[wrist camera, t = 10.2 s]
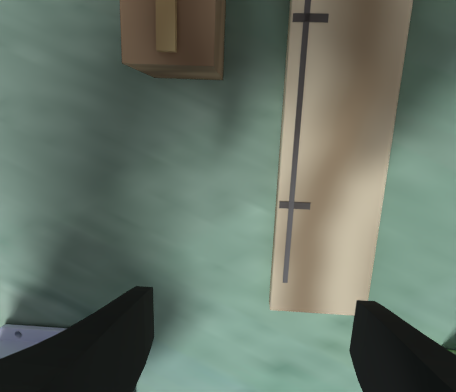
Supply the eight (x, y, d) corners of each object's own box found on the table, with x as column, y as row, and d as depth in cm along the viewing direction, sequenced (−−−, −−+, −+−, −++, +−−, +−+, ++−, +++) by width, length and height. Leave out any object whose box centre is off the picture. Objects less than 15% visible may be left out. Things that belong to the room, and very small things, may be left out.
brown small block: (155, 77, 19) (119, 62, 14) (153, -40, 17) (113, -107, 12) (223, 80, 19) (212, 65, 13) (227, -39, 17) (217, -107, 12)
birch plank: (269, 301, 21) (270, 310, 20) (299, -132, 16) (302, -150, 15) (360, 307, 21) (366, 316, 20) (424, -133, 16) (436, -151, 15)
